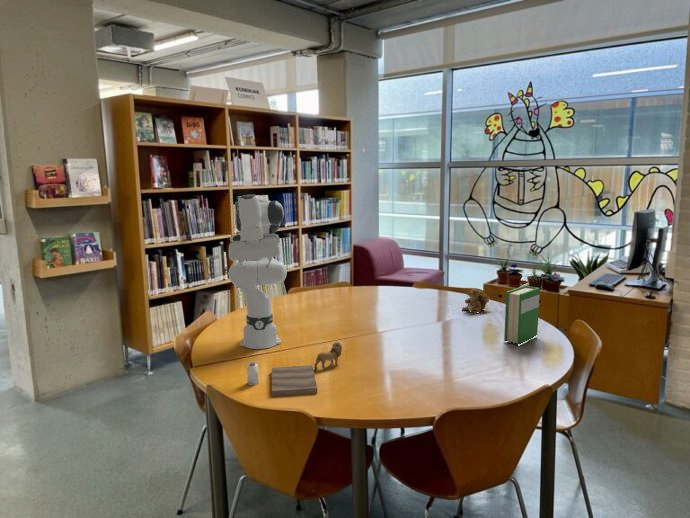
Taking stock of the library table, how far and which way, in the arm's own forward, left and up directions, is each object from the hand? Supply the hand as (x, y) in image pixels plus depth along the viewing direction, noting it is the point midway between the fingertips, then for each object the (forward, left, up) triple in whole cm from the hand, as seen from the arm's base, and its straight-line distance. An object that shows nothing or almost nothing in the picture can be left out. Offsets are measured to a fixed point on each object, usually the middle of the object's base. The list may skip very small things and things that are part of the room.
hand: (256, 269), depth 201 cm
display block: (+22, +13, -40) cm, 47 cm away
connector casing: (+20, -2, -40) cm, 44 cm away
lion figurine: (+8, +28, -40) cm, 49 cm away
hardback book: (-9, +120, -40) cm, 127 cm away
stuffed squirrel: (-61, +120, -40) cm, 140 cm away
